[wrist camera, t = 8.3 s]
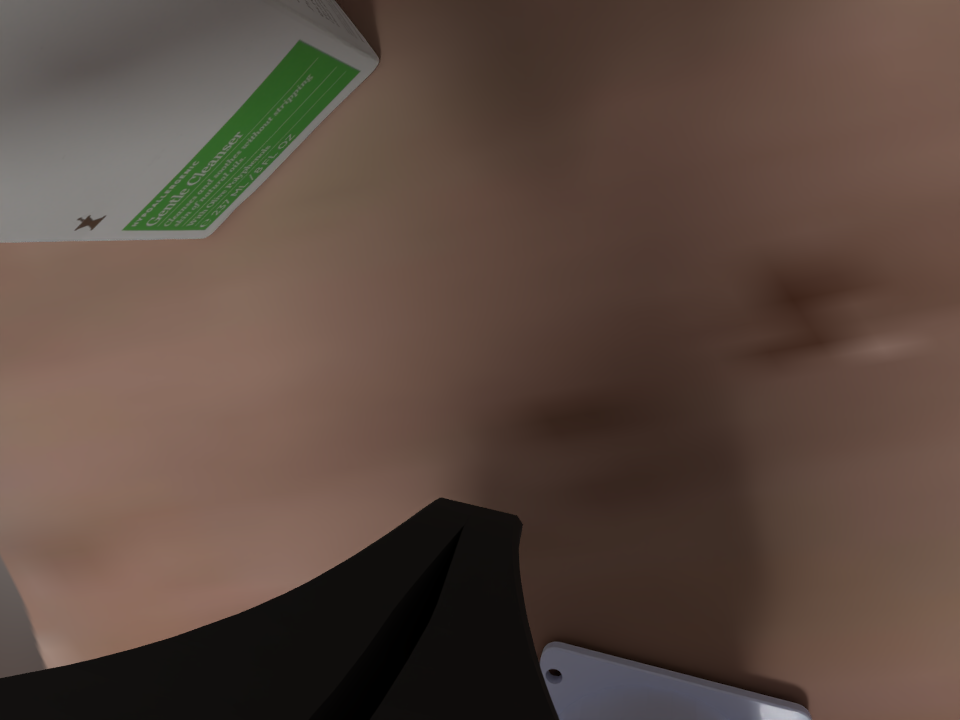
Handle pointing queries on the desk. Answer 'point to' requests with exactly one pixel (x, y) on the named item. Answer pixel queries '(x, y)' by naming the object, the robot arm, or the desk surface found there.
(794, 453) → the desk surface
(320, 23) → the skincare box
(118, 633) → the desk surface
